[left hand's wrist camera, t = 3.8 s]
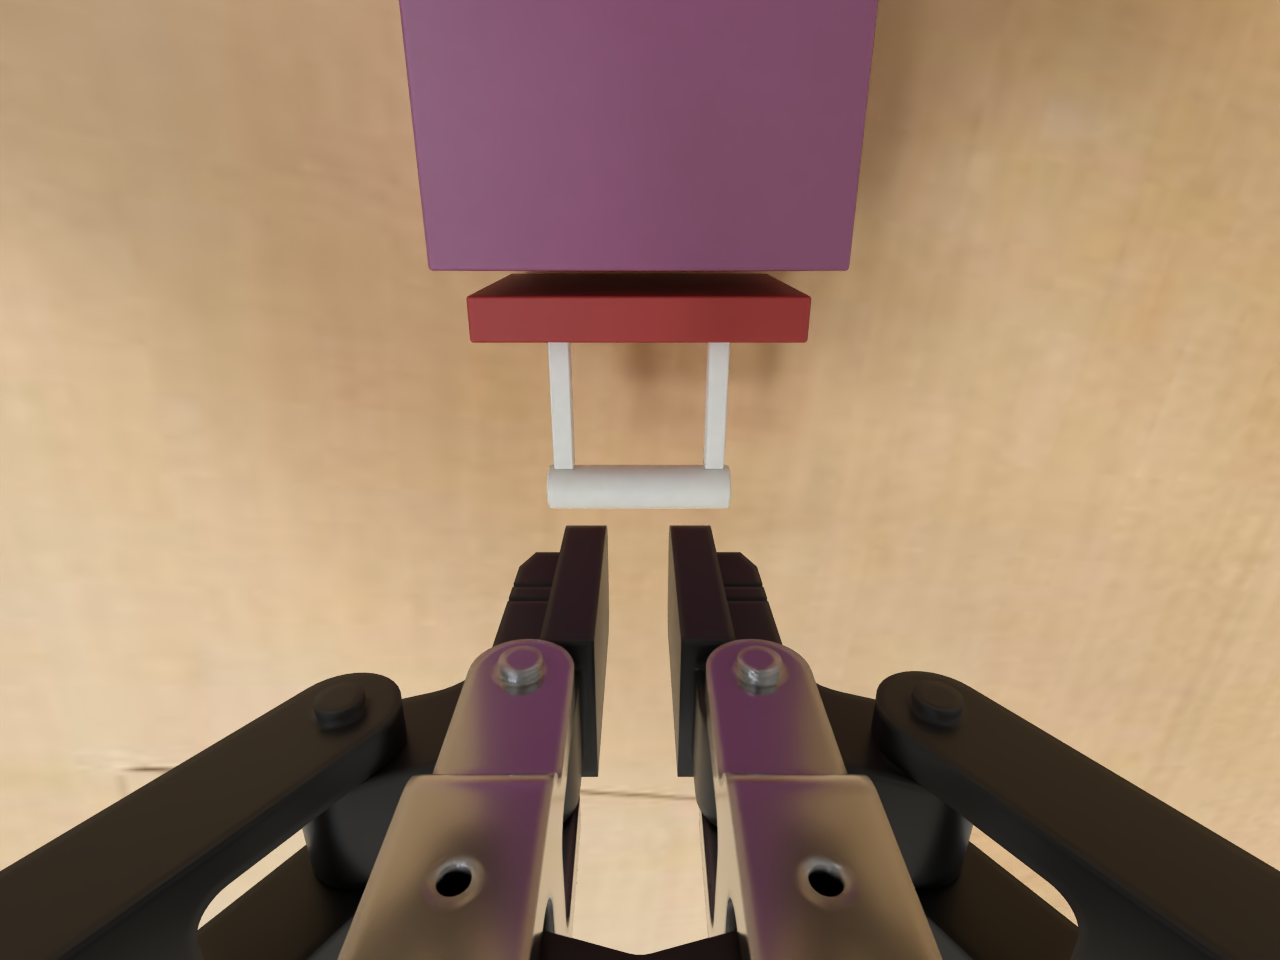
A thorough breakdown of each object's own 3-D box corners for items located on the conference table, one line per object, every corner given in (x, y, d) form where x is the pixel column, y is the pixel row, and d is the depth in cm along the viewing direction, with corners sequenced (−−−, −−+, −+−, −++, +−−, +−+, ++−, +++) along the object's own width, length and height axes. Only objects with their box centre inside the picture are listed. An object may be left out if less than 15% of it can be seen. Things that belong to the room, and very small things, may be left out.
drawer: (755, 455, 26) (790, 530, 20) (522, 455, 26) (487, 530, 20) (809, -339, 18) (896, -620, 12) (468, -340, 18) (380, -620, 12)
